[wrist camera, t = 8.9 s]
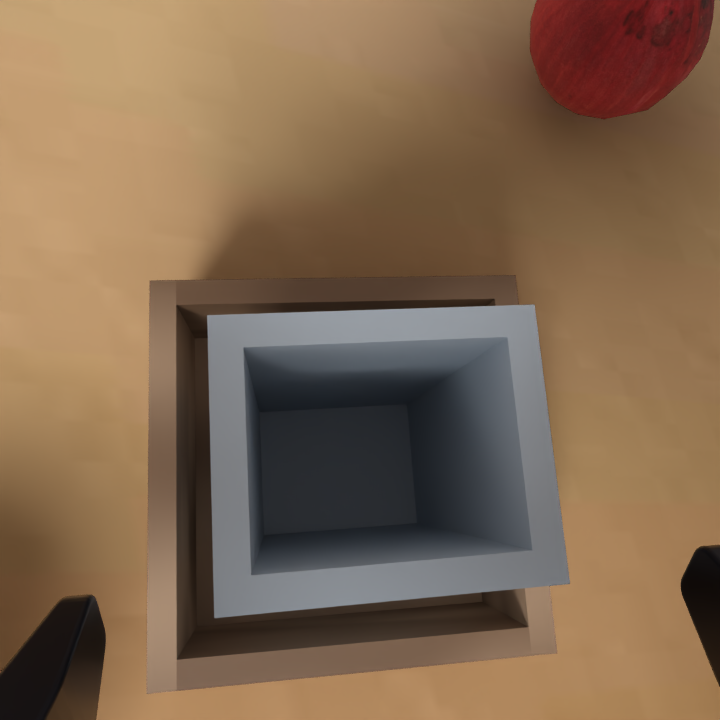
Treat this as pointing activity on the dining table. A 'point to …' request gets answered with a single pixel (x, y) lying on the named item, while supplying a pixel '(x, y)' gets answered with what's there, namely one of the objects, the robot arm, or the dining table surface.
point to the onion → (616, 51)
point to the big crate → (194, 514)
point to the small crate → (379, 457)
